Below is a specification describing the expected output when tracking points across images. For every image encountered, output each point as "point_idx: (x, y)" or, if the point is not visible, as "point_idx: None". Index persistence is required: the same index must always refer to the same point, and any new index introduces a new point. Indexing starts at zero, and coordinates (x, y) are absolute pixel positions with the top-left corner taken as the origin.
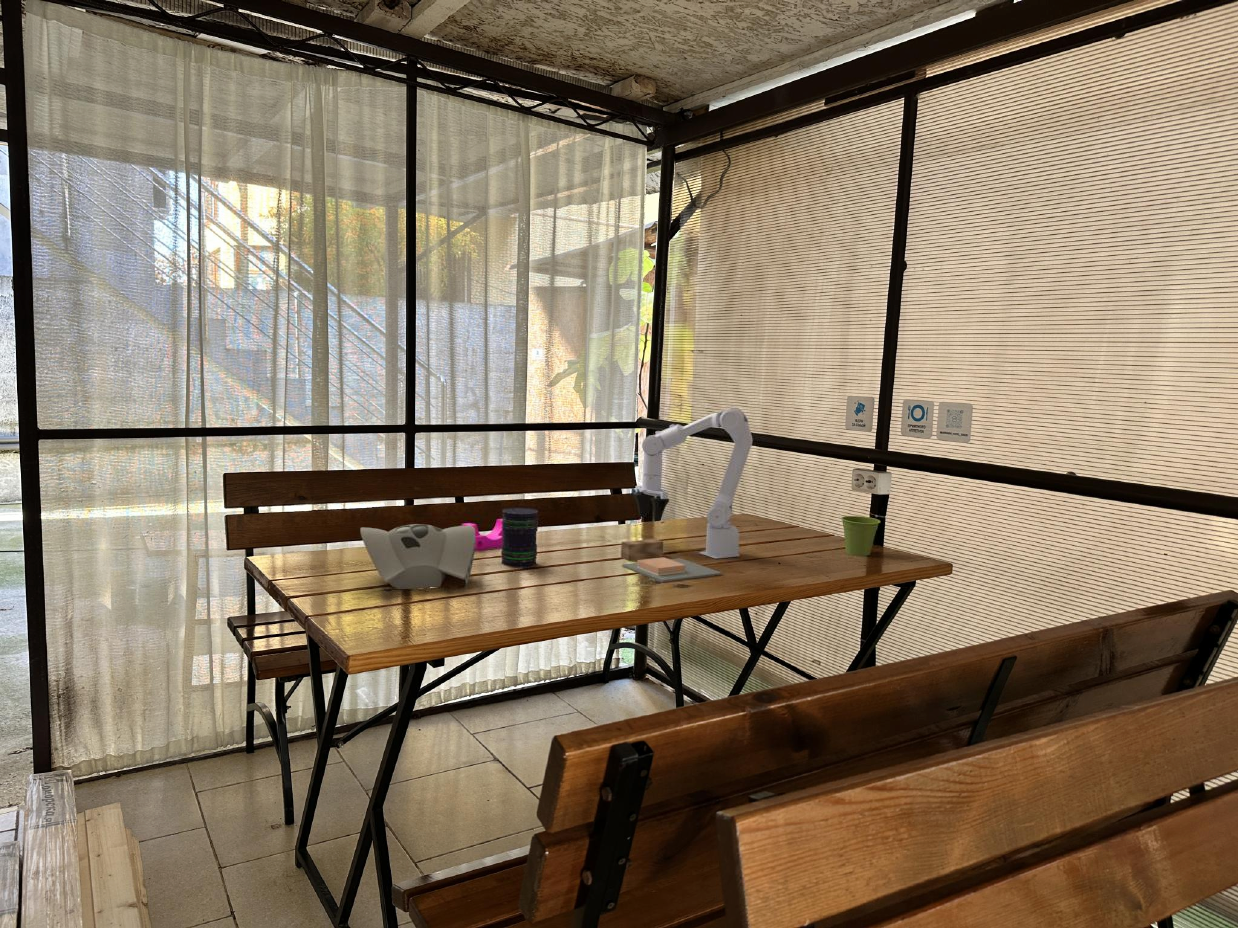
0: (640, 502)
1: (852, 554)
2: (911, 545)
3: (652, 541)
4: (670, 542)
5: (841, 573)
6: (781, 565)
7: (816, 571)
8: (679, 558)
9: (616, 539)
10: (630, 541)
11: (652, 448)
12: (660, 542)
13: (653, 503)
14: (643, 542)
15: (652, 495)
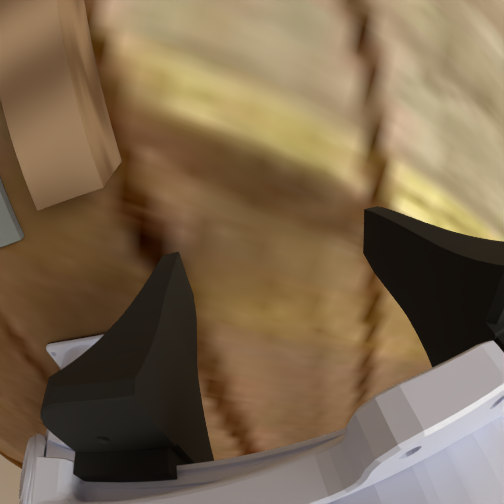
0: (442, 267)
1: None
2: None
3: (35, 149)
4: (331, 299)
5: (8, 447)
6: (32, 421)
7: (7, 434)
8: (16, 235)
9: (443, 125)
10: (51, 15)
11: None
12: (31, 192)
13: (109, 354)
14: (15, 88)
15: (309, 443)
